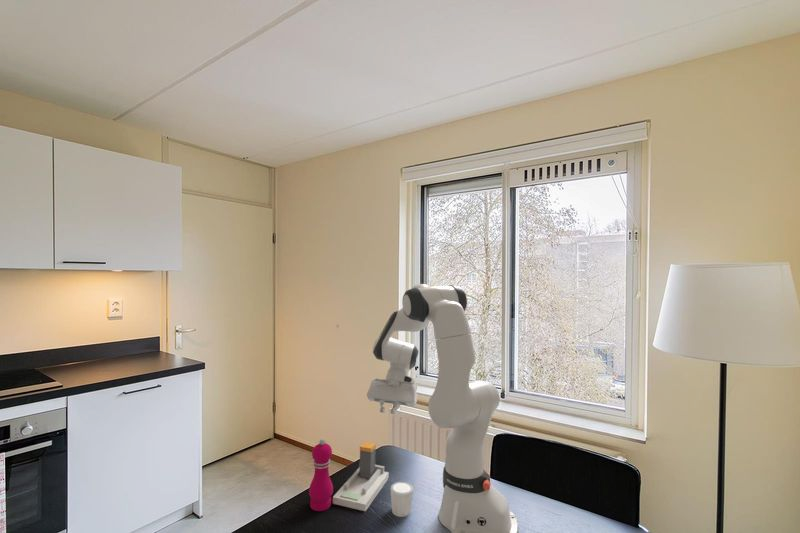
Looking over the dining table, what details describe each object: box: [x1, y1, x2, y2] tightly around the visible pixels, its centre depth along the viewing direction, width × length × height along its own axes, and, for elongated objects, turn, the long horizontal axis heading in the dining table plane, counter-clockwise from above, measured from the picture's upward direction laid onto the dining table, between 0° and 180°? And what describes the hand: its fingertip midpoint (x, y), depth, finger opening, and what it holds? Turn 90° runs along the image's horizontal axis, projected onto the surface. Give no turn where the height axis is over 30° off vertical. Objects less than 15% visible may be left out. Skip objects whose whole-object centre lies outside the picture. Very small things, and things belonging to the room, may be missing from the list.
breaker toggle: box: [359, 441, 377, 479], centre depth 130 cm, size 4×4×10 cm
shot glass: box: [390, 481, 414, 518], centre depth 115 cm, size 7×7×7 cm
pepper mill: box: [308, 438, 334, 512], centre depth 117 cm, size 7×7×20 cm
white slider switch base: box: [332, 462, 390, 512], centre depth 125 cm, size 11×20×4 cm, turn 161°
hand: (387, 412), depth 148 cm, fingers open, 3 cm apart
